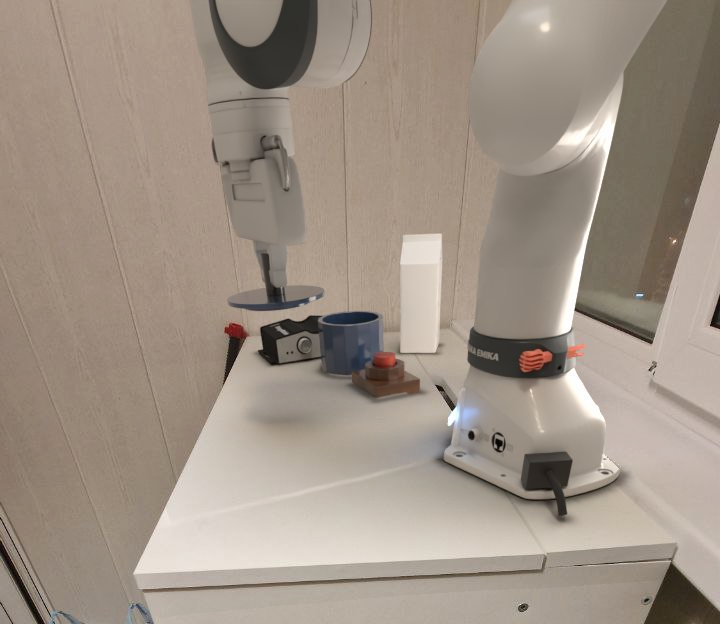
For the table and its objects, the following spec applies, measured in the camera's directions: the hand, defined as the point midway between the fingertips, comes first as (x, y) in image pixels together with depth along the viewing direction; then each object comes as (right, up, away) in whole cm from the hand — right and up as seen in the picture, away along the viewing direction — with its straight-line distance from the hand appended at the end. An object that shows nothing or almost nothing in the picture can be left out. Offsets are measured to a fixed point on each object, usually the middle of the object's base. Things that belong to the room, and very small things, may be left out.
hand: (274, 284), depth 71 cm
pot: (+10, +6, +34) cm, 36 cm away
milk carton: (+23, +14, +42) cm, 50 cm away
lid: (0, -1, +1) cm, 2 cm away
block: (+15, -2, +24) cm, 29 cm away
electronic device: (+1, +14, +44) cm, 47 cm away
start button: (+15, 0, +22) cm, 26 cm away
